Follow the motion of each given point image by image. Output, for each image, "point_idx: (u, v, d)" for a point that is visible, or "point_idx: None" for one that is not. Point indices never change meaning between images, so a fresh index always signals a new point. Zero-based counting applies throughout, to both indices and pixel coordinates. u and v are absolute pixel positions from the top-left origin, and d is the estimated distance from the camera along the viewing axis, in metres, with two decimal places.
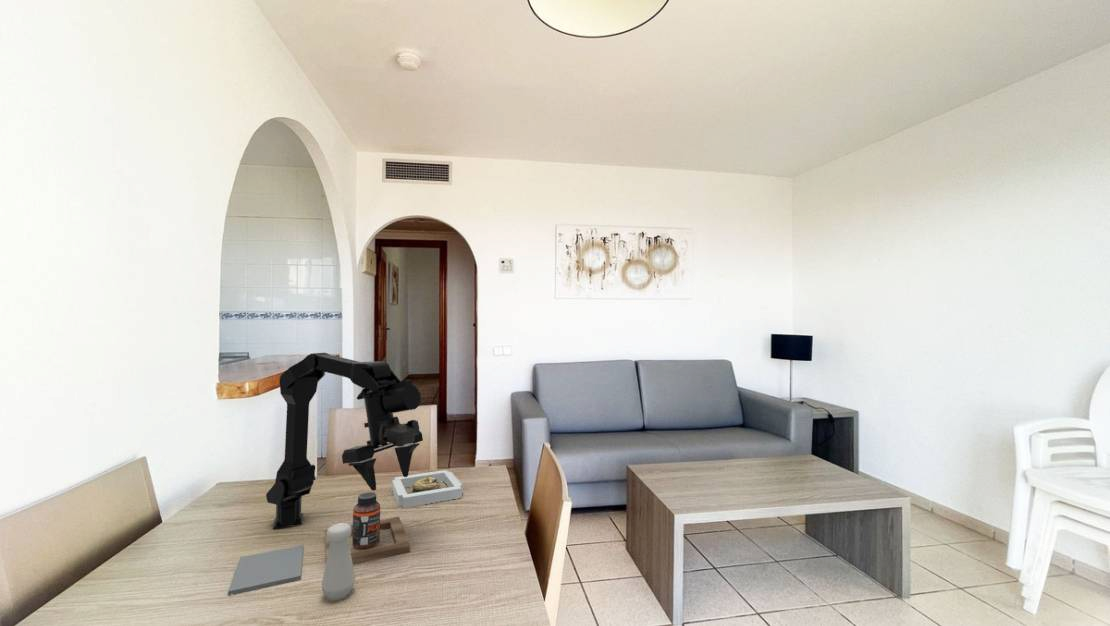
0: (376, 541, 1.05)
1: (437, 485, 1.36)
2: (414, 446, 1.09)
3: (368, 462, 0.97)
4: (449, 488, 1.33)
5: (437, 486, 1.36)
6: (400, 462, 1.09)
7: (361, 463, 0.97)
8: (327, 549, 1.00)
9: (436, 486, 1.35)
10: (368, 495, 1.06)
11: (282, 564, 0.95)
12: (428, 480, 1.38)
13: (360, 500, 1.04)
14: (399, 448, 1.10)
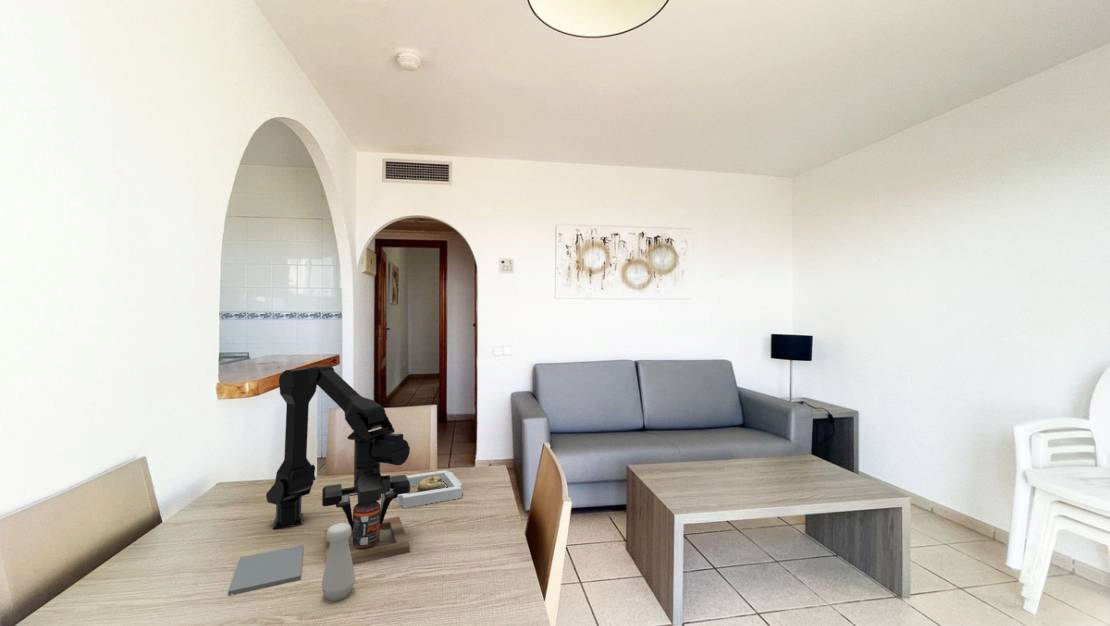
0: (376, 541, 1.05)
1: (442, 484, 1.36)
2: (389, 498, 1.06)
3: (340, 506, 1.01)
4: (449, 488, 1.33)
5: (442, 486, 1.36)
6: (380, 507, 1.09)
7: (336, 505, 1.01)
8: (327, 549, 1.00)
9: (441, 485, 1.36)
10: None
11: (282, 564, 0.95)
12: (433, 479, 1.38)
13: None
14: (382, 493, 1.09)
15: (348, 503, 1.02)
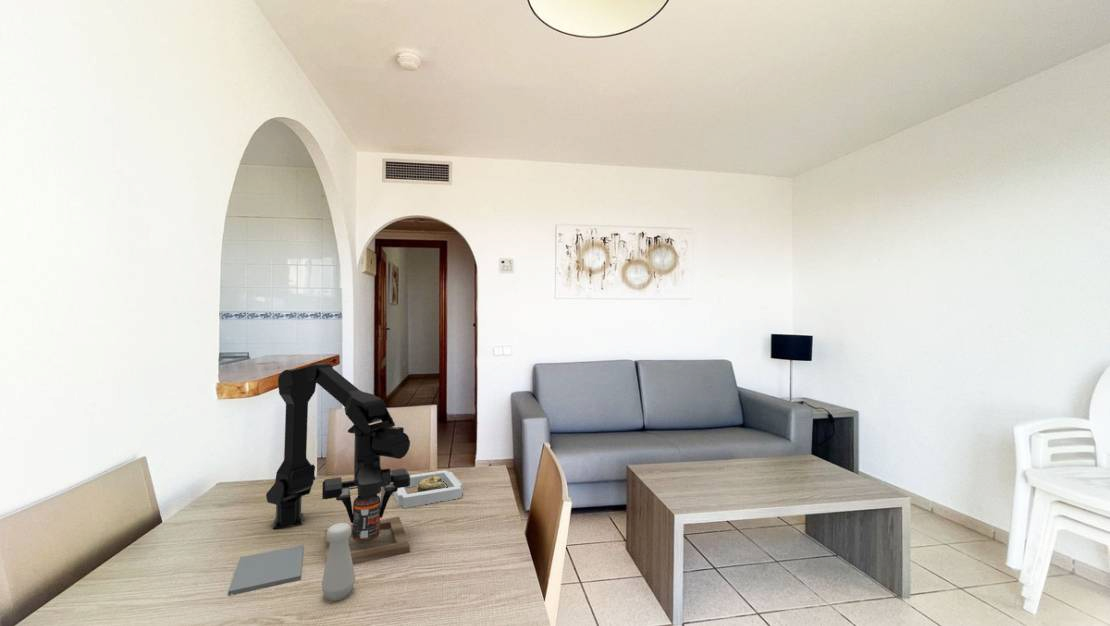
0: (376, 534, 1.05)
1: (442, 484, 1.36)
2: (389, 492, 1.06)
3: (341, 499, 1.01)
4: (449, 488, 1.33)
5: (442, 485, 1.36)
6: None
7: (336, 498, 1.01)
8: (327, 549, 1.00)
9: (441, 485, 1.36)
10: None
11: (282, 564, 0.95)
12: (433, 479, 1.38)
13: None
14: (383, 486, 1.09)
15: (348, 496, 1.02)
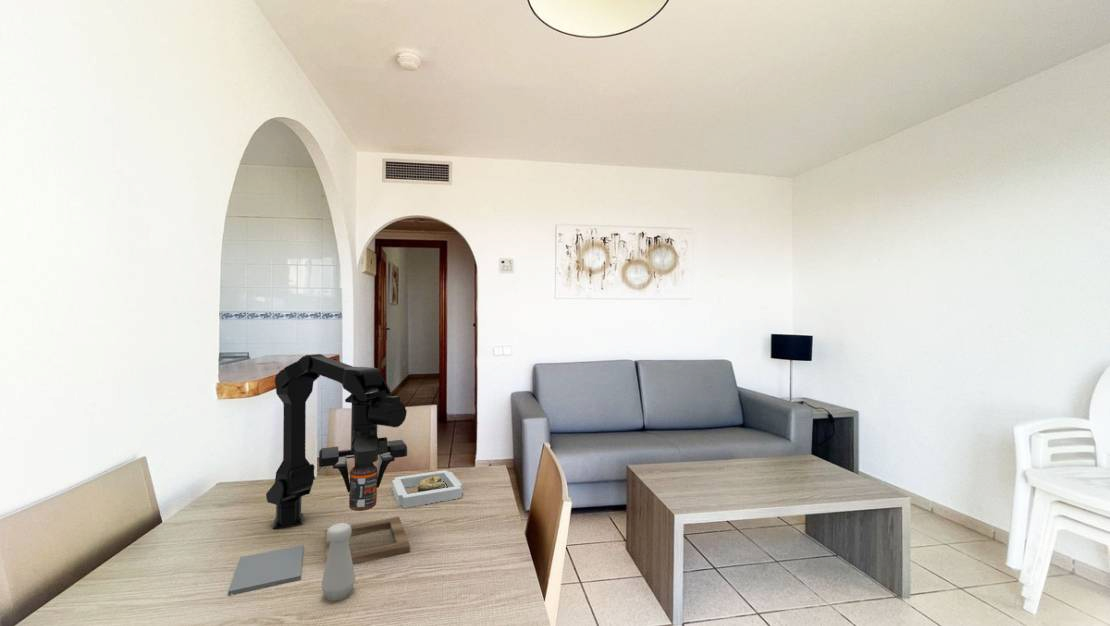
0: (373, 504, 1.05)
1: (442, 484, 1.36)
2: (386, 461, 1.06)
3: (337, 467, 1.01)
4: (449, 488, 1.33)
5: (442, 486, 1.36)
6: (377, 471, 1.08)
7: None
8: (327, 549, 1.00)
9: (441, 485, 1.36)
10: None
11: (282, 564, 0.95)
12: (433, 479, 1.38)
13: None
14: (380, 457, 1.09)
15: (345, 465, 1.02)
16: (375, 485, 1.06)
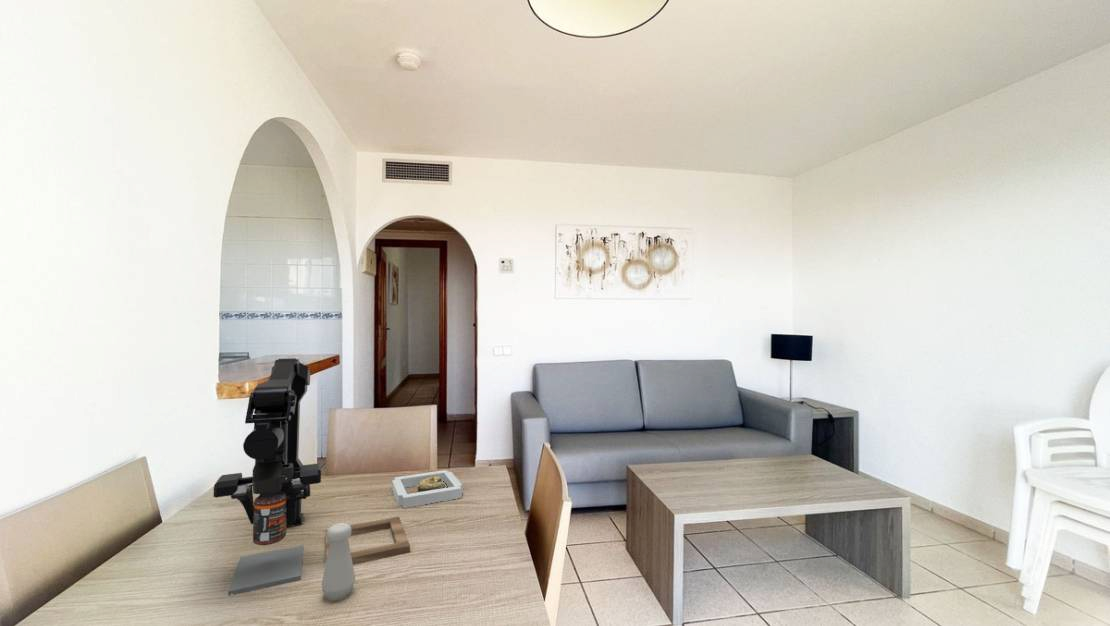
0: (280, 537, 0.94)
1: (442, 484, 1.36)
2: (295, 489, 0.95)
3: (236, 497, 0.90)
4: (449, 488, 1.33)
5: (442, 486, 1.36)
6: None
7: (231, 496, 0.90)
8: (327, 549, 1.00)
9: (441, 485, 1.36)
10: None
11: (282, 564, 0.95)
12: (433, 479, 1.38)
13: None
14: (291, 483, 0.98)
15: (245, 494, 0.91)
16: (283, 516, 0.95)
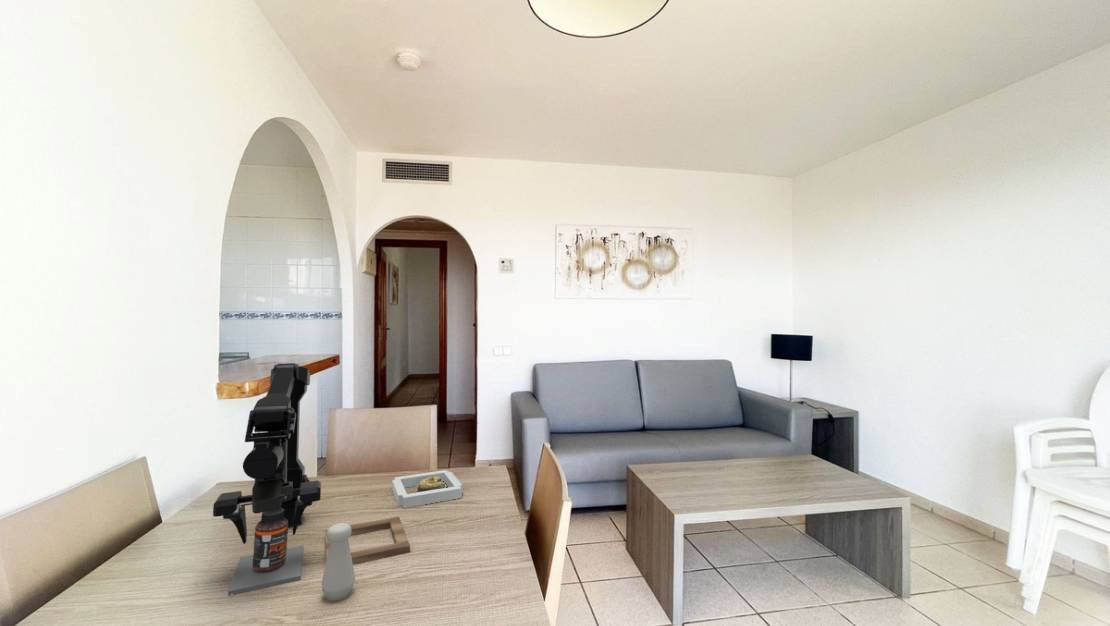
0: (280, 563, 0.94)
1: (442, 484, 1.36)
2: (301, 506, 0.95)
3: (228, 518, 0.89)
4: (449, 488, 1.33)
5: (442, 485, 1.36)
6: None
7: (223, 516, 0.90)
8: (327, 549, 1.00)
9: (441, 485, 1.36)
10: (273, 511, 0.95)
11: None
12: (433, 479, 1.38)
13: (263, 517, 0.93)
14: (297, 500, 0.98)
15: (238, 514, 0.90)
16: (284, 542, 0.95)
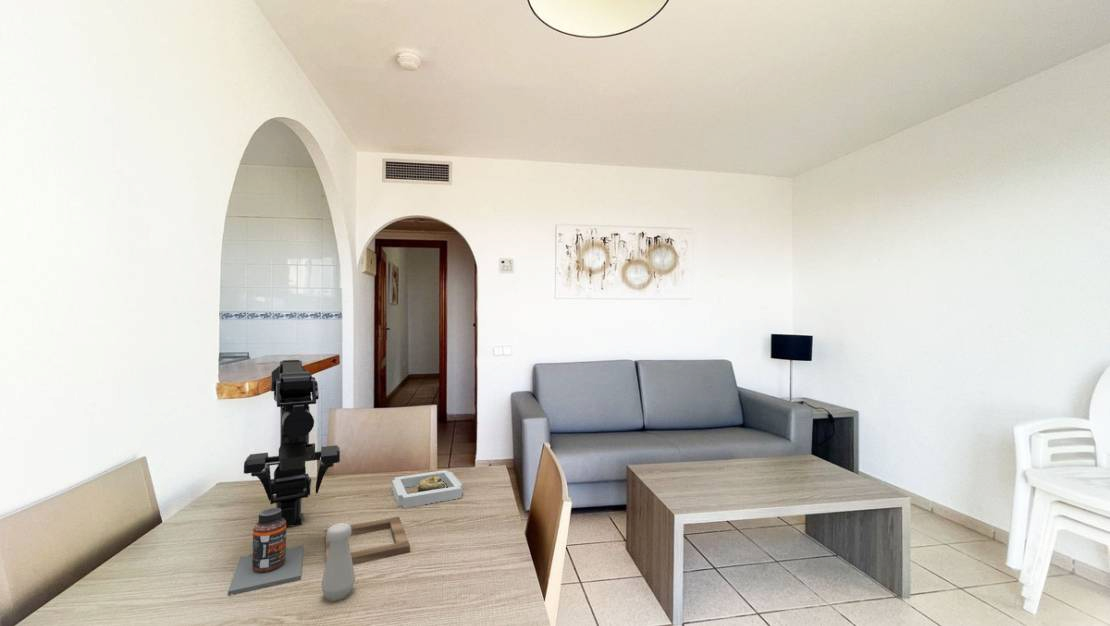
0: (280, 563, 0.94)
1: (442, 484, 1.36)
2: (324, 467, 1.04)
3: (256, 475, 0.98)
4: (449, 488, 1.33)
5: (443, 485, 1.36)
6: (317, 476, 1.07)
7: (251, 474, 0.98)
8: (327, 549, 1.00)
9: (442, 485, 1.36)
10: (271, 511, 0.95)
11: None
12: (433, 479, 1.38)
13: (260, 518, 0.93)
14: (319, 462, 1.07)
15: (264, 472, 0.99)
16: (283, 541, 0.95)
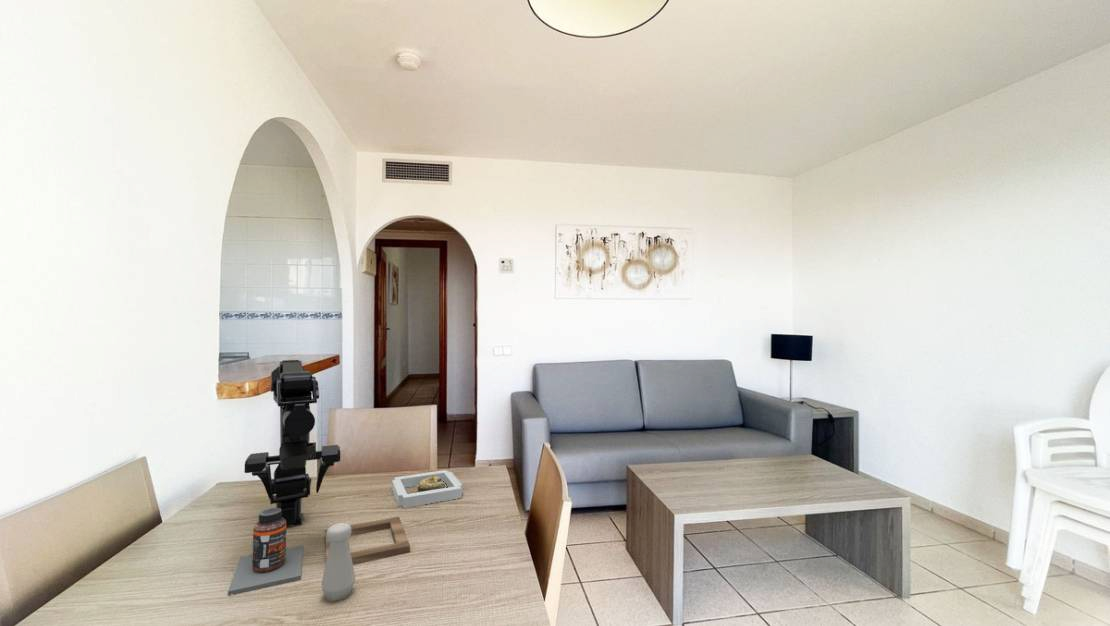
0: (280, 563, 0.94)
1: (442, 484, 1.36)
2: (324, 466, 1.04)
3: (256, 474, 0.98)
4: (449, 488, 1.33)
5: (442, 485, 1.36)
6: None
7: (252, 473, 0.99)
8: (327, 549, 1.00)
9: (441, 485, 1.36)
10: (271, 511, 0.95)
11: None
12: (433, 479, 1.38)
13: (260, 518, 0.93)
14: (320, 461, 1.07)
15: (265, 471, 0.99)
16: (283, 541, 0.95)
